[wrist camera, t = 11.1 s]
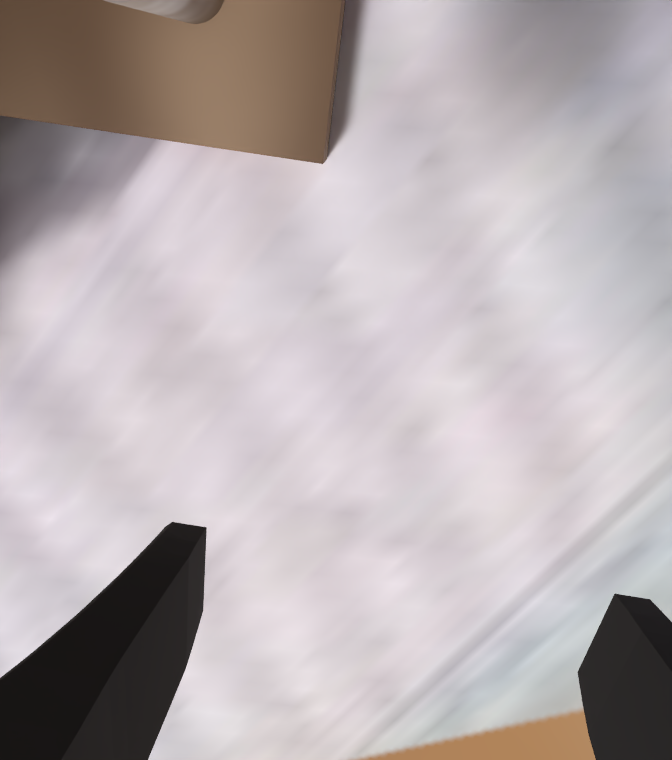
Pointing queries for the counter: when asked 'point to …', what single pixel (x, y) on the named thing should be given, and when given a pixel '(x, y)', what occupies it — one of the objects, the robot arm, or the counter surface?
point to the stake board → (177, 70)
